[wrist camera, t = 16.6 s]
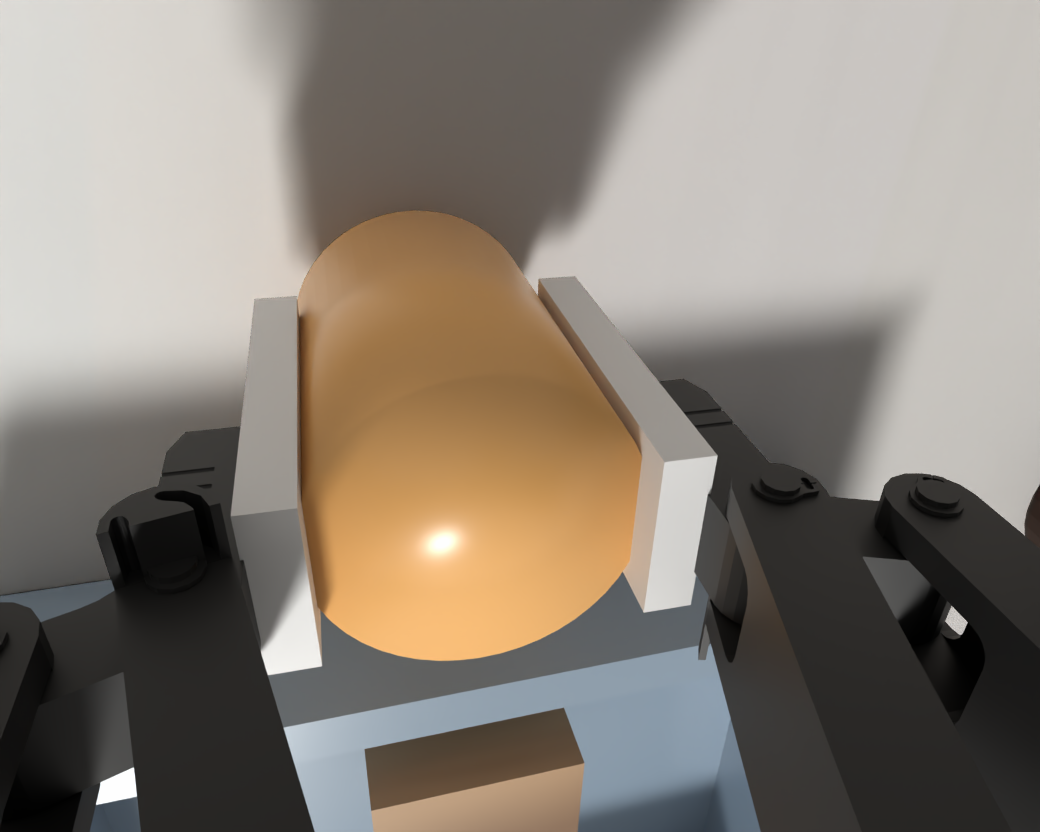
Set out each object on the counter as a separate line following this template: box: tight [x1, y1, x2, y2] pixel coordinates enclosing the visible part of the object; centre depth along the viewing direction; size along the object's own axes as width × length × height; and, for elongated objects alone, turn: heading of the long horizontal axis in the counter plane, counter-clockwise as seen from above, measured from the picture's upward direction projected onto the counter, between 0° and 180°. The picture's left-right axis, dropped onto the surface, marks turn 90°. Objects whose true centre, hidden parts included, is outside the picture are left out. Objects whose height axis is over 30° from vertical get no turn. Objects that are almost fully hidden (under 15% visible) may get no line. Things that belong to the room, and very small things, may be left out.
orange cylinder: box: [297, 210, 642, 661], centre depth 14 cm, size 5×5×7 cm
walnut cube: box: [364, 708, 585, 832], centre depth 22 cm, size 5×5×5 cm
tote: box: [0, 572, 761, 832], centre depth 24 cm, size 18×22×6 cm
